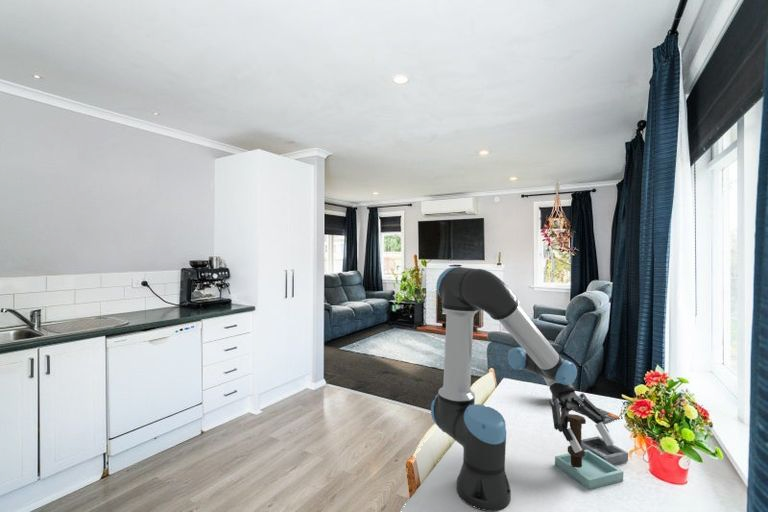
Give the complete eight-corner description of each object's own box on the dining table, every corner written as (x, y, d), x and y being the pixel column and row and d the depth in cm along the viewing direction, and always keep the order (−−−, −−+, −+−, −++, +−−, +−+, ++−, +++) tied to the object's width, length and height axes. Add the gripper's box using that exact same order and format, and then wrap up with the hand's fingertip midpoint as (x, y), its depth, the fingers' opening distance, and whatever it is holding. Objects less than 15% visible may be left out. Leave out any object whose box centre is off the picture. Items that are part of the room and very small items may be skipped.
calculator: (605, 422, 149) (571, 408, 162) (605, 425, 149) (571, 410, 162) (621, 417, 155) (587, 403, 168) (621, 419, 155) (587, 405, 168)
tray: (589, 489, 108) (589, 480, 108) (554, 464, 120) (555, 456, 120) (623, 480, 112) (623, 471, 112) (587, 457, 124) (587, 449, 124)
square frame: (605, 467, 119) (605, 458, 119) (576, 449, 130) (576, 440, 130) (627, 461, 122) (628, 452, 122) (597, 444, 133) (598, 436, 133)
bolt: (588, 471, 111) (587, 420, 113) (570, 469, 112) (569, 418, 114) (582, 463, 117) (581, 414, 119) (565, 461, 118) (564, 413, 120)
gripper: (579, 384, 134) (615, 445, 120) (524, 391, 126) (557, 458, 112) (592, 374, 129) (632, 437, 115) (536, 382, 121) (571, 450, 107)
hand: (595, 448), depth 114 cm, fingers open, 13 cm apart
